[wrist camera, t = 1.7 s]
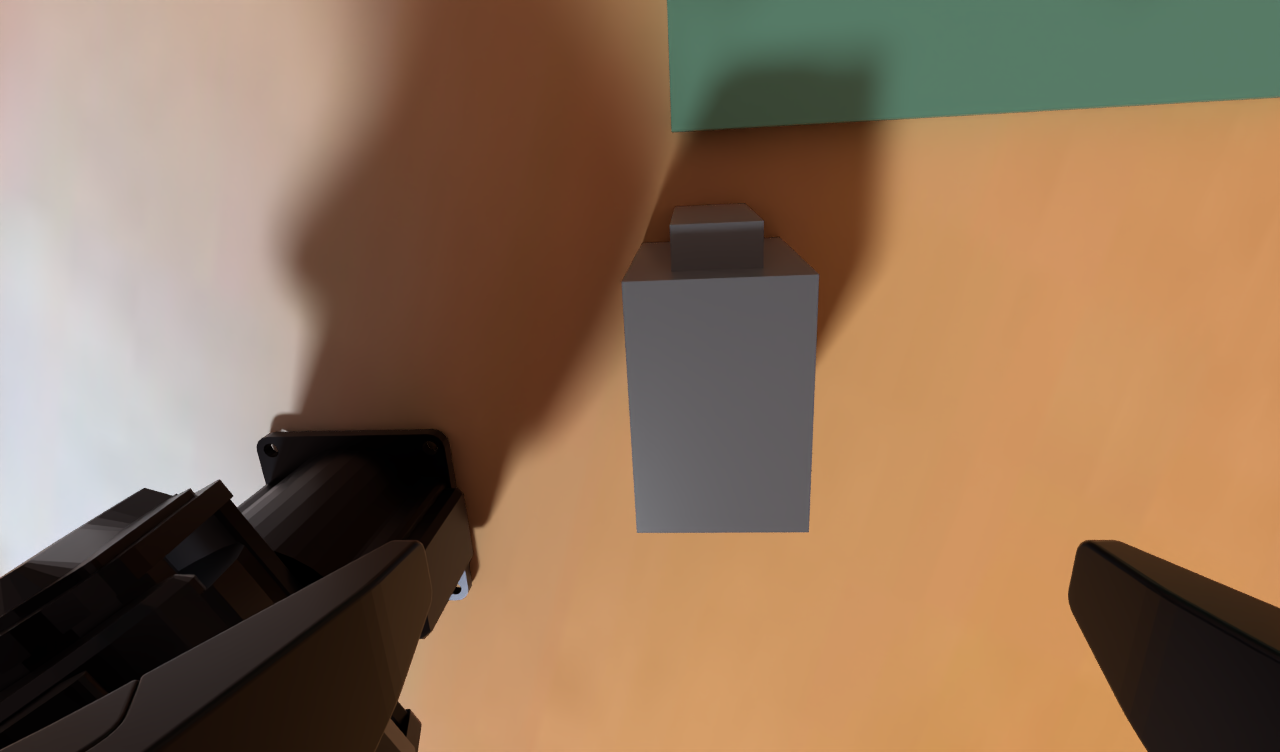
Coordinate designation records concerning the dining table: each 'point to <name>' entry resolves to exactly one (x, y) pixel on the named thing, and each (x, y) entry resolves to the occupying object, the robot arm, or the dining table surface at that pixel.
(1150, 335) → the dining table surface
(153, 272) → the dining table surface
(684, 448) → the plug
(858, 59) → the board
